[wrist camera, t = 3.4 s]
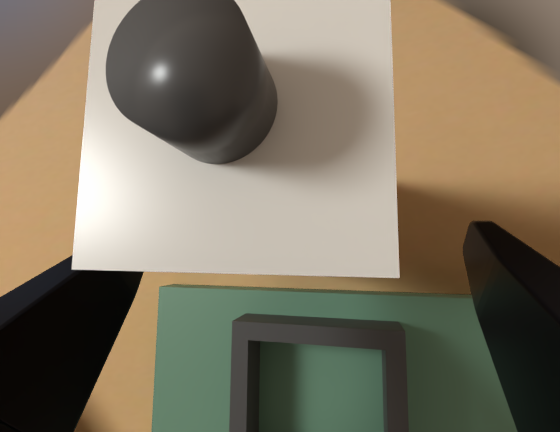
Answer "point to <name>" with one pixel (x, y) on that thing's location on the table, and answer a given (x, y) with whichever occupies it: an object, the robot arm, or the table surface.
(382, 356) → the circuit board
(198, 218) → the battery
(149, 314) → the table surface
